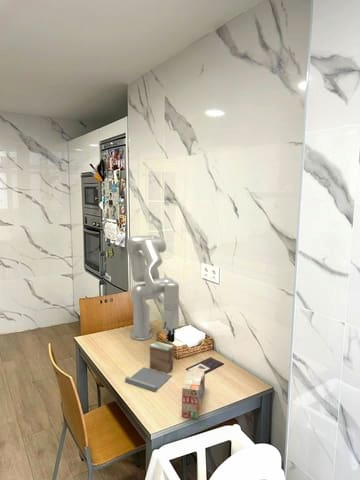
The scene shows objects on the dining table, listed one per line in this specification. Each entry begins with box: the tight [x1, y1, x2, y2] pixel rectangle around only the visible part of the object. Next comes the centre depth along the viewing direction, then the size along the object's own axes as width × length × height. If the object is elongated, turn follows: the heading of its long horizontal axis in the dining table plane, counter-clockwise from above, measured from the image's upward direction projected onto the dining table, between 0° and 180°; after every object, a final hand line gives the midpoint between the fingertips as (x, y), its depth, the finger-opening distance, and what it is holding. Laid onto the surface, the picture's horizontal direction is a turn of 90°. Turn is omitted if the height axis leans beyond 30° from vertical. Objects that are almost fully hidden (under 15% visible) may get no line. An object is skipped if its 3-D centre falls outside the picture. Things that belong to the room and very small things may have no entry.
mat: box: [124, 366, 173, 393], centre depth 159 cm, size 15×16×2 cm
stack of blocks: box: [181, 368, 206, 420], centre depth 141 cm, size 21×6×12 cm, turn 169°
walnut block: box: [149, 340, 174, 374], centre depth 167 cm, size 5×10×12 cm, turn 62°
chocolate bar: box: [185, 357, 225, 375], centre depth 171 cm, size 9×1×18 cm
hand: (170, 341), depth 175 cm, fingers closed
